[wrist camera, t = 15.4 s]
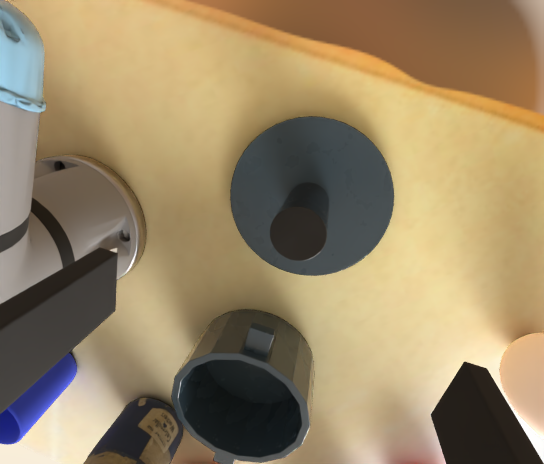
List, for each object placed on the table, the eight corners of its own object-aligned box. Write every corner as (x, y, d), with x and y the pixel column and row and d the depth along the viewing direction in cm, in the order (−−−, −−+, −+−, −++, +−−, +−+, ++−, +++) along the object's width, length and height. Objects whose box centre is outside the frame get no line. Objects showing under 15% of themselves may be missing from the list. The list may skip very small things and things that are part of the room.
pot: (189, 396, 44) (162, 448, 37) (214, 274, 36) (185, 311, 29) (290, 432, 42) (281, 494, 35) (337, 314, 35) (337, 362, 28)
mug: (8, 325, 46) (-75, 377, 37) (81, 342, 44) (14, 402, 35) (18, 369, 49) (-56, 427, 40) (88, 387, 47) (27, 452, 38)
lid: (221, 245, 35) (179, 292, 25) (251, 97, 29) (211, 86, 20) (358, 289, 33) (367, 355, 24) (419, 142, 28) (463, 154, 18)
